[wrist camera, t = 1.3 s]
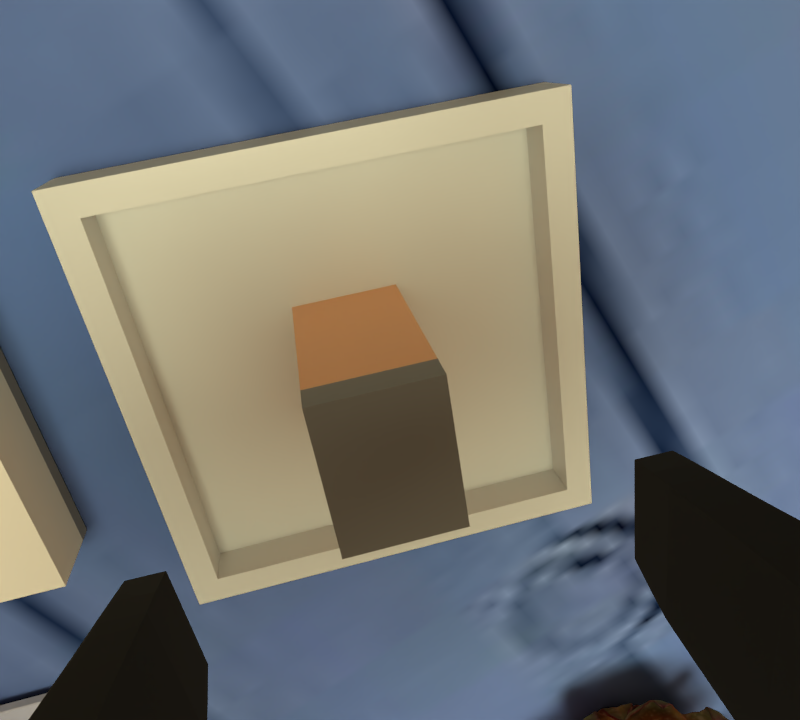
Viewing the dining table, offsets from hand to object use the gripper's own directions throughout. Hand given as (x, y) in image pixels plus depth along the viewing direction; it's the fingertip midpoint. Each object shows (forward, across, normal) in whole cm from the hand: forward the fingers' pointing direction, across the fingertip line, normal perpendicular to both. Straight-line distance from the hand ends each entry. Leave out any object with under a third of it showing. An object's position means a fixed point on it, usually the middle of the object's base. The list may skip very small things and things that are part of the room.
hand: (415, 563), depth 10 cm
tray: (+11, 0, +1) cm, 11 cm away
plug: (+10, 0, +1) cm, 10 cm away
